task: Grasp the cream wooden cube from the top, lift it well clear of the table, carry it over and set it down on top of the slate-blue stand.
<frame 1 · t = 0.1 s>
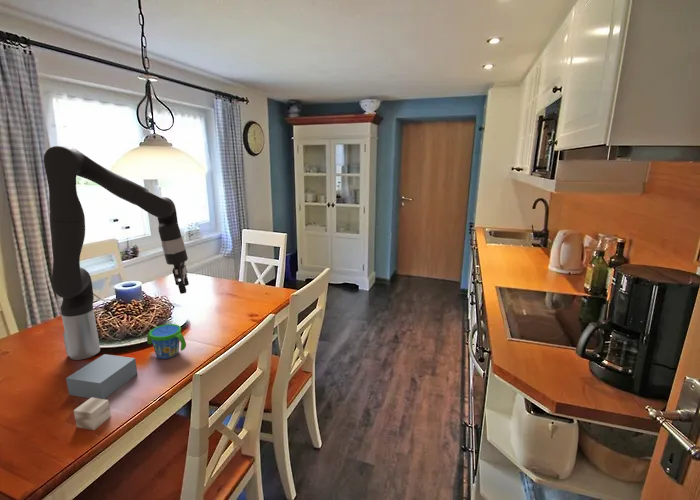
hand: (184, 289, 137), 22 cm above the table, tool pointing down, fingers open, 8 cm apart
slate stand: (105, 383, 114), on the table
snack cup: (167, 355, 132), on the table
cream cube: (94, 421, 98), on the table
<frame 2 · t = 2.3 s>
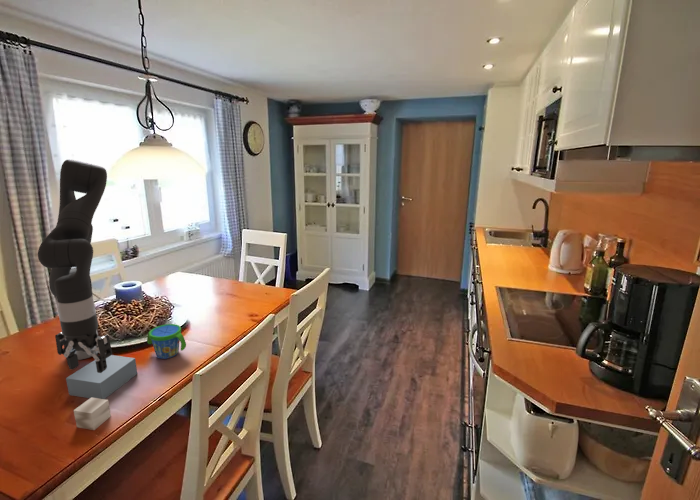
hand: (88, 369, 94), 16 cm above the table, tool pointing down, fingers open, 8 cm apart
nothing on the table moved.
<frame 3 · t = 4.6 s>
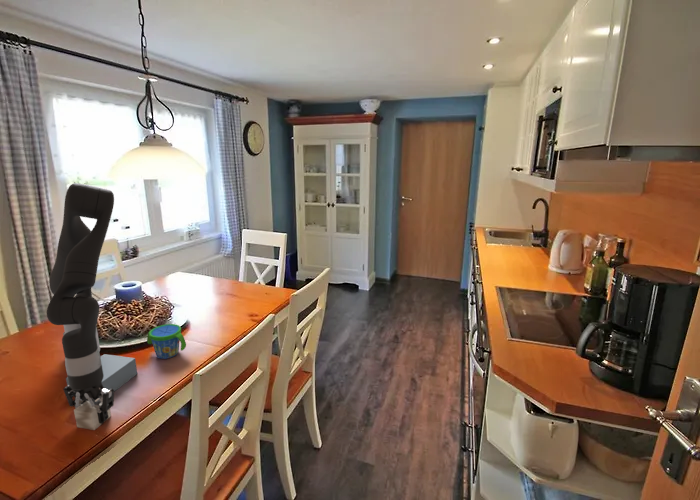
hand: (94, 419, 97), 1 cm above the table, tool pointing down, fingers closed on cream cube, 5 cm apart
cream cube: (94, 421, 98), on the table, touching gripper
everything else where it was.
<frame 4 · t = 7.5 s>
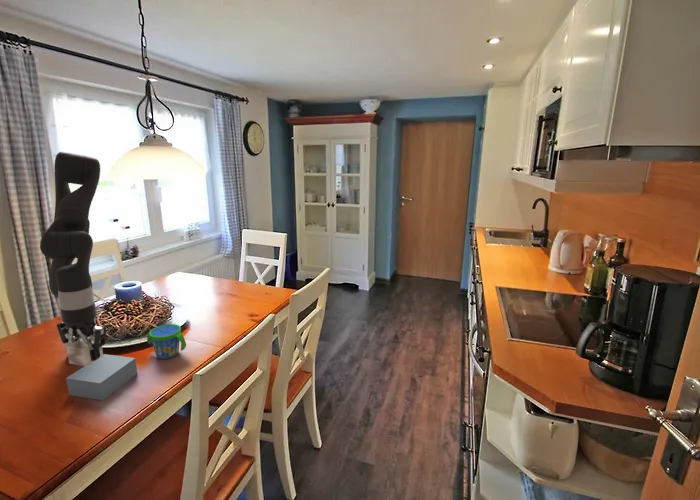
hand: (86, 357, 99), 17 cm above the table, tool pointing down, fingers closed on cream cube, 5 cm apart
cream cube: (86, 359, 99), point 16 cm above the table, touching gripper
everything else where it was.
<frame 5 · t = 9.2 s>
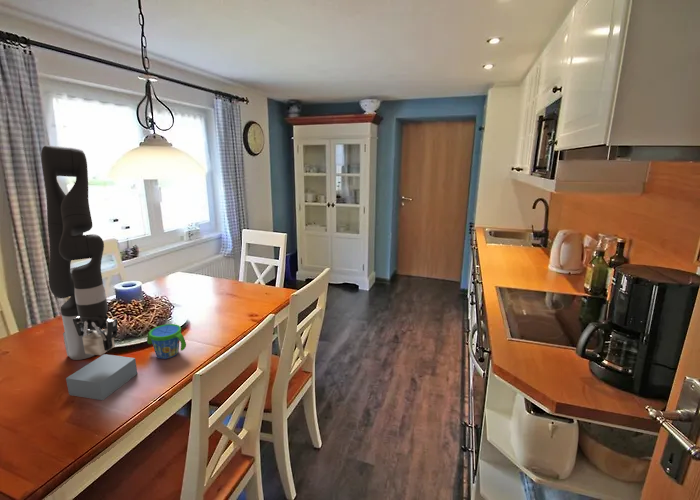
hand: (100, 348, 111), 13 cm above the table, tool pointing down, fingers closed on cream cube, 5 cm apart
cream cube: (100, 349, 111), point 12 cm above the table, touching gripper
everything else where it was.
when the fingers open (8 cm above the table, at t = 10.5 s): cream cube drops 1 cm, resting on slate stand.
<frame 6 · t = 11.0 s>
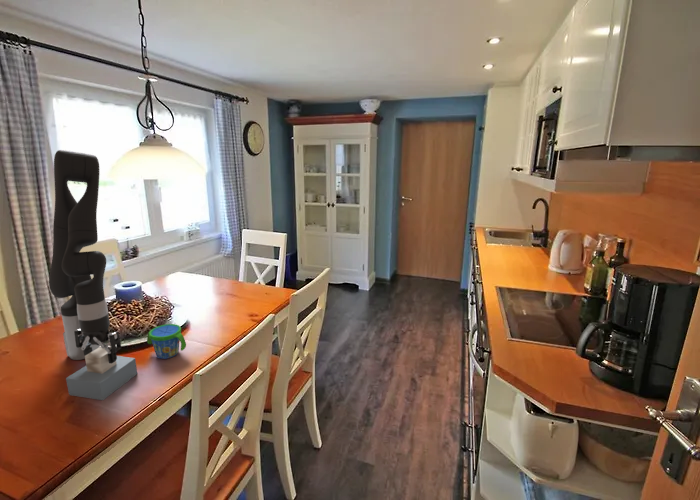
hand: (101, 360, 112), 9 cm above the table, tool pointing down, fingers open, 8 cm apart
cream cube: (102, 367, 112), point 6 cm above the table, touching slate stand
everything else where it was.
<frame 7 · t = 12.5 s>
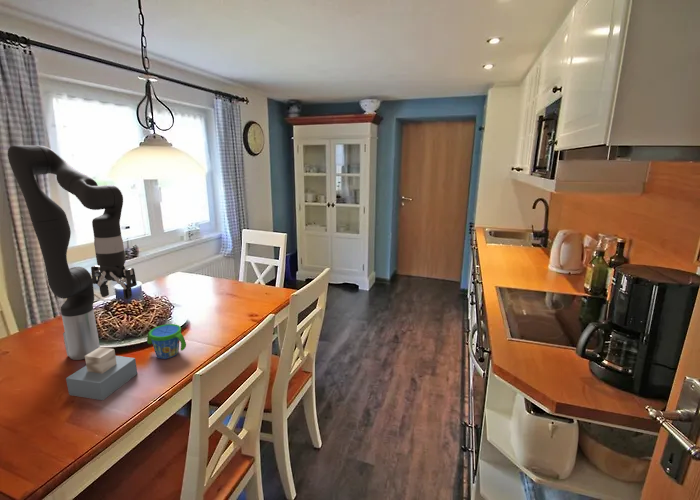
hand: (116, 297, 113), 28 cm above the table, tool pointing down, fingers open, 8 cm apart
nothing on the table moved.
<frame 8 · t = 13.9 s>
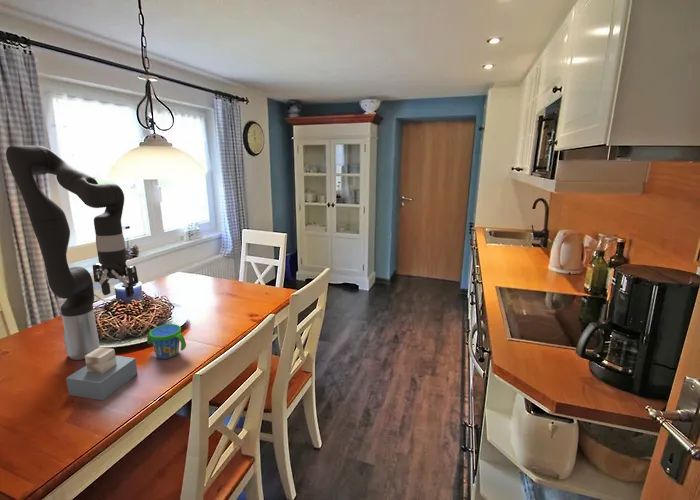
hand: (118, 295, 114), 28 cm above the table, tool pointing down, fingers open, 8 cm apart
nothing on the table moved.
at the end: cream cube inside the target area on the slate stand (0.0 cm from its centre), point 6.0 cm above the slate stand's base; cream cube tilted 0°; the gripper is holding nothing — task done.
